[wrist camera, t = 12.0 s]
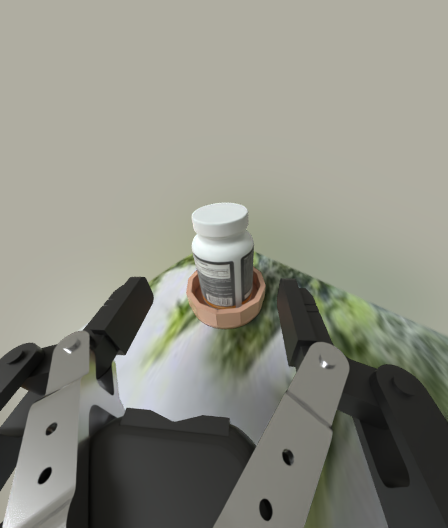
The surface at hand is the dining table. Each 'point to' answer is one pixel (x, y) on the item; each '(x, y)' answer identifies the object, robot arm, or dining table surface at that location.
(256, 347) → the dining table surface
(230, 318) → the bowl
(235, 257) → the pill bottle
